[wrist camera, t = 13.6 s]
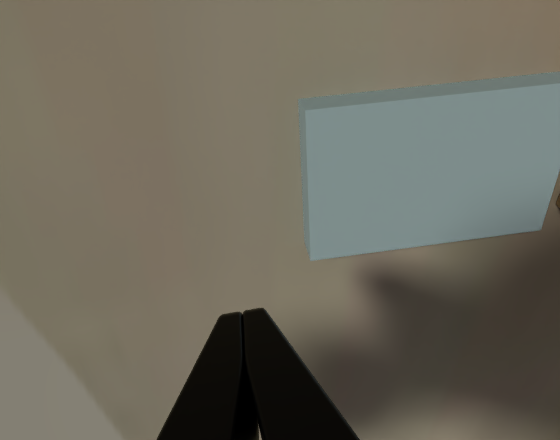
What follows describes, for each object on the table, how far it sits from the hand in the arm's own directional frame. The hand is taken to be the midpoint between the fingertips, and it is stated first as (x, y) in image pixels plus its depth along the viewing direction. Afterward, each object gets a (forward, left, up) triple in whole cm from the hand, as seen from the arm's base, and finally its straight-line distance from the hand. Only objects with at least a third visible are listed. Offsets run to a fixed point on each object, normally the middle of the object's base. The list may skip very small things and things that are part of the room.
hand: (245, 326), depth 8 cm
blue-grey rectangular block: (0, +2, -6) cm, 6 cm away
